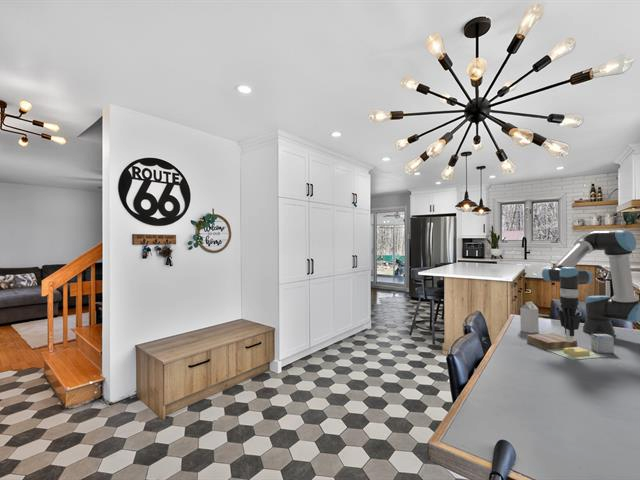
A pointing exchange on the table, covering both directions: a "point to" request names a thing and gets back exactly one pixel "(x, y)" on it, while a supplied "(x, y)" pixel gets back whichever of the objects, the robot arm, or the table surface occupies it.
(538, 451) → the table surface
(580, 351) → the yellow sponge block
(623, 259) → the robot arm
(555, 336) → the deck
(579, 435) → the table surface
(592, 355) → the mat
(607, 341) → the medicine box
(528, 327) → the milk carton
